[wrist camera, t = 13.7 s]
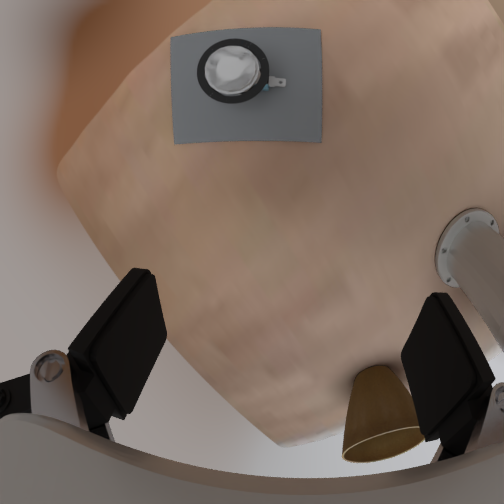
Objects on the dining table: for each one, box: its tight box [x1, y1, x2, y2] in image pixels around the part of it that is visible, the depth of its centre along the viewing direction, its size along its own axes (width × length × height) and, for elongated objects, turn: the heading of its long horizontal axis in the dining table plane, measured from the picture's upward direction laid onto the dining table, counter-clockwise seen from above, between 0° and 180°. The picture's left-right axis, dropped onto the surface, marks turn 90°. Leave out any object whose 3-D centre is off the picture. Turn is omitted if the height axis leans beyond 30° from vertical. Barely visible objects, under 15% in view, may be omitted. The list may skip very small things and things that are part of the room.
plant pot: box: [342, 366, 425, 463], centre depth 39 cm, size 15×15×16 cm
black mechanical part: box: [197, 38, 286, 104], centre depth 20 cm, size 7×5×10 cm
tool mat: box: [171, 27, 322, 144], centre depth 25 cm, size 16×13×1 cm
